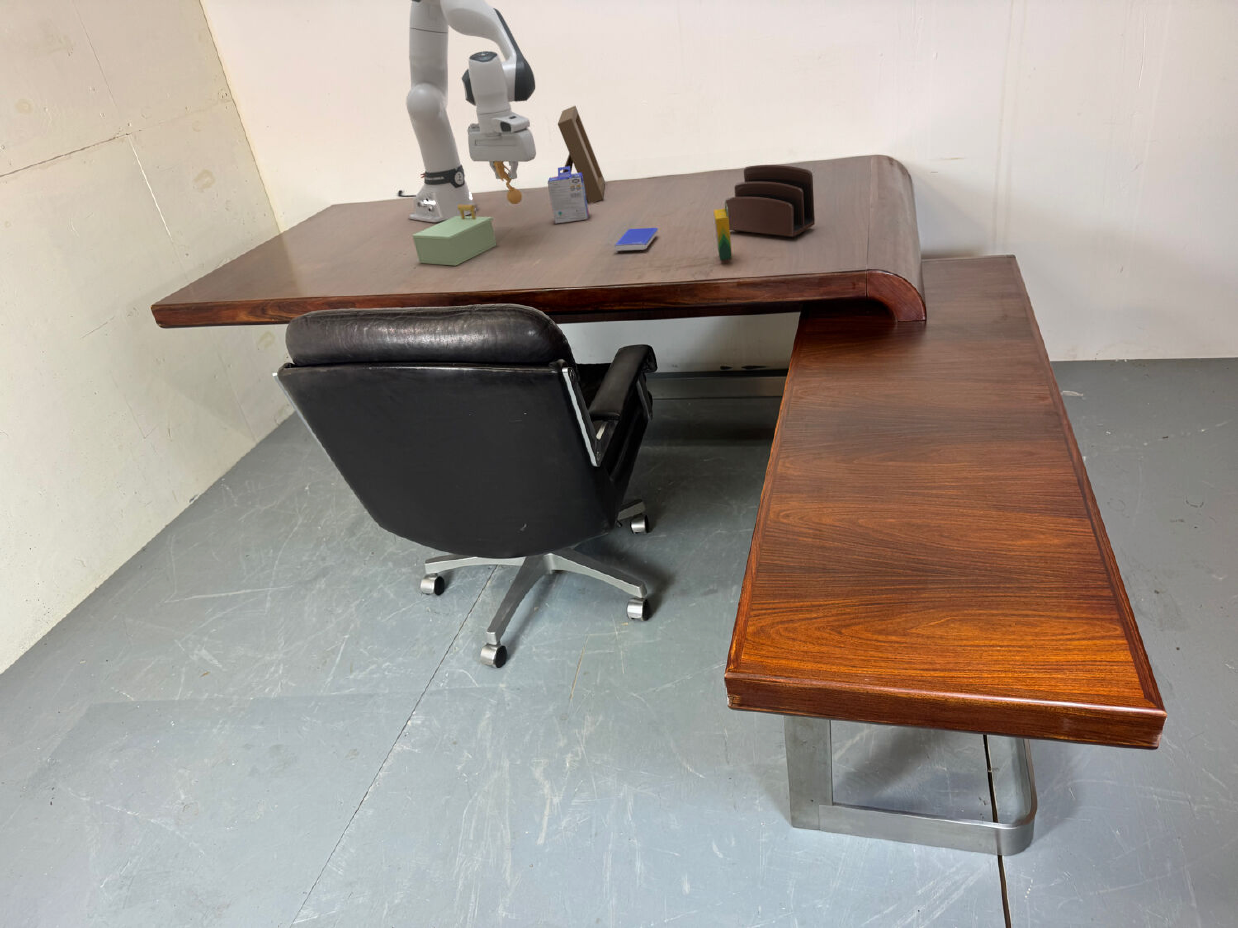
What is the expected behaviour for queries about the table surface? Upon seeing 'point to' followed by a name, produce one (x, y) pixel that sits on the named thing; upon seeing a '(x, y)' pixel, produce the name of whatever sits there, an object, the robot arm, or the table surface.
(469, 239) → the chest
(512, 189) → the figurine
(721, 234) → the crayon box
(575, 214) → the ink cartridge box
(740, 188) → the letter holder
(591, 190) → the photo frame
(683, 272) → the table surface
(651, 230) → the hard drive
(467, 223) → the chest lid
